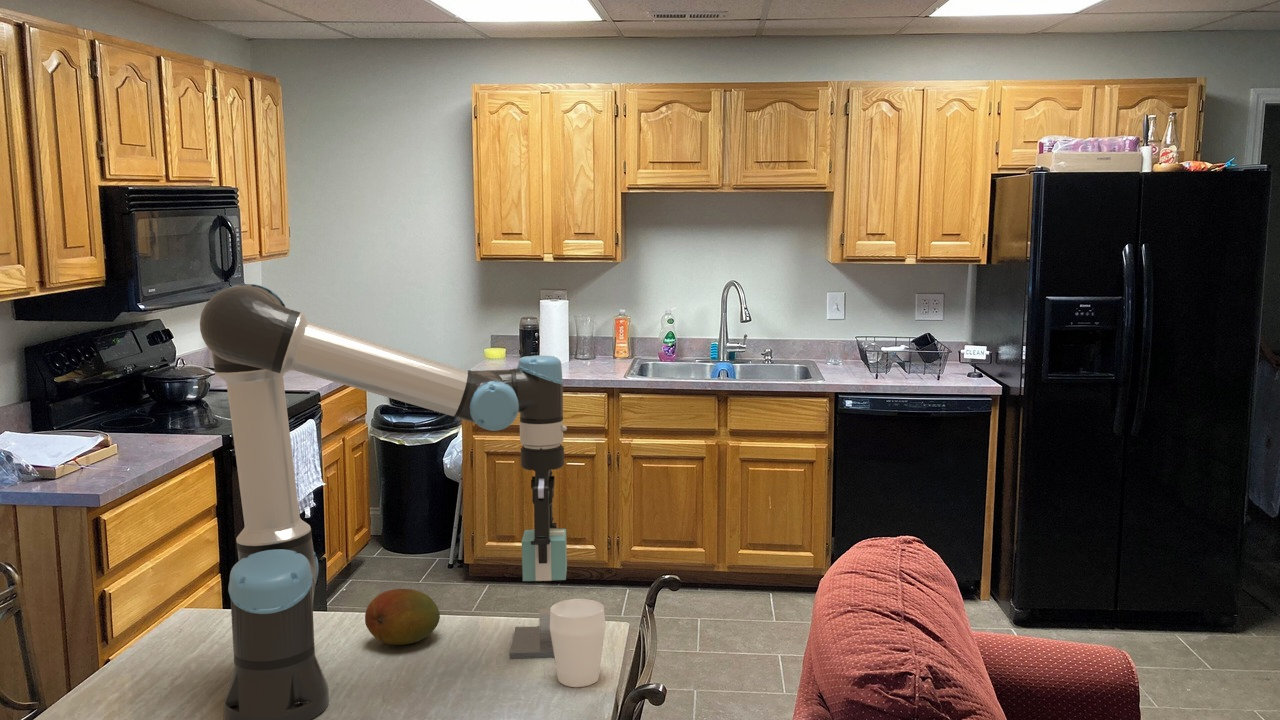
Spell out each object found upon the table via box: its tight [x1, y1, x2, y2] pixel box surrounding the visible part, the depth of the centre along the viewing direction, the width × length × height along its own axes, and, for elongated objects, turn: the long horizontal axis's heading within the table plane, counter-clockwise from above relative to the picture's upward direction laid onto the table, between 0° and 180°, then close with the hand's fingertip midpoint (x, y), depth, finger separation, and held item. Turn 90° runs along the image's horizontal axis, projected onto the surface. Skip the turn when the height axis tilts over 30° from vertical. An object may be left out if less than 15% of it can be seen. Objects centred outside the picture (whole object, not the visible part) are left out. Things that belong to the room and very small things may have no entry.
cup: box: [549, 598, 606, 688], centre depth 164 cm, size 9×9×12 cm
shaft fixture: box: [509, 608, 555, 660], centre depth 179 cm, size 12×12×6 cm
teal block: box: [521, 528, 568, 582], centre depth 178 cm, size 7×7×8 cm
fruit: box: [364, 588, 441, 646], centre depth 181 cm, size 12×13×10 cm
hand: (544, 572), depth 178 cm, fingers closed on teal block, 7 cm apart
